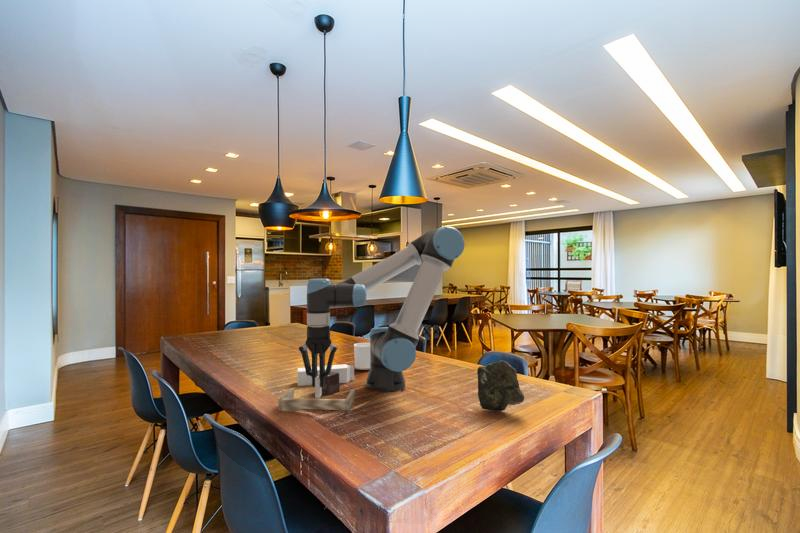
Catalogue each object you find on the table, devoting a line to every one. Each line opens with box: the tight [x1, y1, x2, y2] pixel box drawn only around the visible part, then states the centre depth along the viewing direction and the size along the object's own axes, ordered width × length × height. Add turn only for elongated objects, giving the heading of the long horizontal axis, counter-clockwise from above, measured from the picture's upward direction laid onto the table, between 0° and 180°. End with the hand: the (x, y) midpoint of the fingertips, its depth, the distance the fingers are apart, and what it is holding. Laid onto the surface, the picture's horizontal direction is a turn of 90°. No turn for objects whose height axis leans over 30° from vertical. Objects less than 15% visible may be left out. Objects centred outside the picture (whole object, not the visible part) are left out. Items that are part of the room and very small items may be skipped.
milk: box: [297, 363, 355, 387], centre depth 152 cm, size 6×6×22 cm
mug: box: [353, 342, 370, 371], centre depth 174 cm, size 11×9×10 cm
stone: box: [476, 359, 525, 412], centre depth 122 cm, size 15×10×15 cm
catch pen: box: [277, 387, 356, 414], centre depth 126 cm, size 22×11×4 cm, turn 86°
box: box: [317, 371, 340, 396], centre depth 139 cm, size 6×6×7 cm
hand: (318, 396), depth 127 cm, fingers closed
